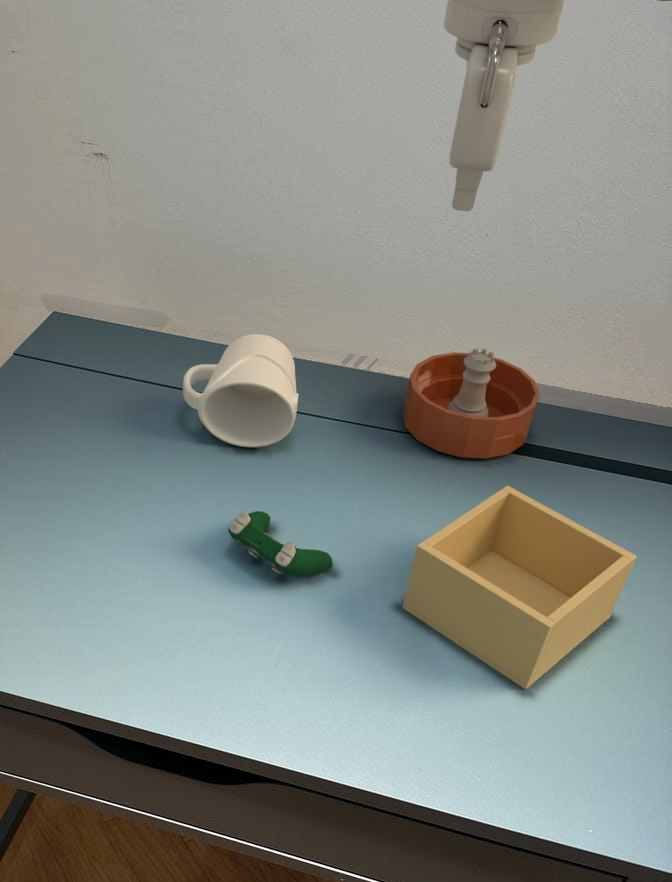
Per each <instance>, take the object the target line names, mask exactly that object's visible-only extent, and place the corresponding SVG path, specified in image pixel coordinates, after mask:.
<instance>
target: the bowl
mask: <svg viewBox="0 0 672 882" xmlns="http://www.w3.org/2000/svg"><path fill="white" fill-rule="evenodd" d="M469 353H470V352H455V351H454V352H453V351H452V352H448V353H442V354H436V355H431V356H429V357H428V358H426V359H424V360H422V361H420V362H418V363H416V364H415V367H413V369H412V371H411V373H410V375H409V379H408V383H407V388H406V393H405V398H404V404H403V407H402V418H403V424H404V427H405V428H406V429H407V430H408V432H409V433H410V434H411V435H412V436H413V437H414V439H416V440H417V441H419V442H420V443H422V444H424V445H426V446H428V447H429V448H431V449H433V450H435V451H437V452H440V453H443V454H447V455H450V456H455V457H459V458H466V459H467V458H468V459H492V458H496V457H497V458H498V457H501V456H506V455H509V454H512V452H514V451H516V450H517V449H519V448H520V447H522V446H523V445H524V444H525V442H526V439H527V437H528V434H529V432H530V428H531V426H532V423H533V418H534V415H535V412H536V409H537V405H538V404H539V400H540V396H541V392H540V391H539V388H538V385H537V383H536V381H535V379H534V378H533V377H532V376H530V375H529V374H528V373H527V372H526V371H525V370H523V369H522V368H521V367H519V366H517V365H515V364H512V363H510V362H508V361H506V360H503V359H501V358H498V357H495V358H494V361H495V363H496V367H495V369H494V370H492V371H491V372H490V373H489V375H490V378H491V379H490V381H489V382H487V386H486V393H485V401H486V404H487V405H486V407H487V409H488V417H478V416H469V415H465V414H461V413H457V412H453V411H450V410H447V407H448V405H449V404H450V402H451V401H453V399H454V397H456V396H457V395H458V393H459V391H460V388H461V386H462V383H463V379H464V377H463V373H464V372H465V371H466V366H465V364H464V359H465V358H466V357H467V356H468V355H469Z"/></svg>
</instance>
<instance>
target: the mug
mask: <svg viewBox="0 0 672 882" xmlns="http://www.w3.org/2000/svg"><path fill="white" fill-rule="evenodd" d="M295 366H296V365H295V360H294V357H293V355H292V353H291V351H290V350H289V349H288V347H287V346H286V345H285V344H284V343H282V342H281V341H280V340H279V339H277V338H275V337H272V336H269V335H266V334H262V333H261V334H260V333H259V334H258V333H252V334H245V335H243V336H240V337H238V338H237V339H235V340H234V341H232V342H231V343H230V344H229V345H228V346H227V347H226V349H225V350H224V352H223V354H222V356H221V358H220V359H219V362H218V363H215V364H212V363H207V364H205V363H202V364H197V365H194V366H191V367H190V368H188V370H187V371H186V372H185V374H184V376H183V380H182V395H183V396H182V397H183V399H184V401H185V403H186V404H187V405H188V406H189V407H190V408H192V409H194V410H197V415H198V418H199V421H200V422H201V423H202V424H203V426H204V427H205V428H206V429H207V430H208V432H210V433H211V434H212V435H213V436H215V437H216V438H217V439H219V440H221V441H223V442H225V443H228V444H230V445H233V446H237V447H243V448H261V447H268V446H271V445H273V444H277V443H278V442H280V441H281V440H283V439H285V438H286V437H287V436H288V435H289V434H290V433H291V431H293V427H294V425H295V421H296V419H297V411H298V404H299V393H298V392H297V381H296V380H297V379H296V367H295ZM200 382H207V384H206V386H205V388H204V390H203V392H199V391H196V390H194V388H193V387H192V386H193V385H195V384H196V383H200Z"/></svg>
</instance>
